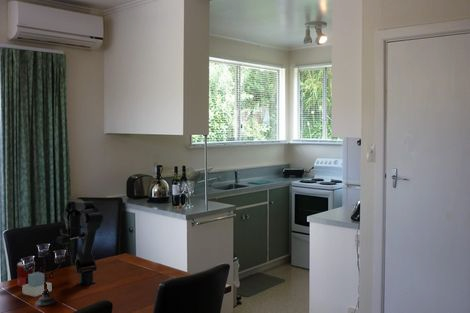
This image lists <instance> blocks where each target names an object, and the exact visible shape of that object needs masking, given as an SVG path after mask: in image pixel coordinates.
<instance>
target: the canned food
mask: <svg viewBox="0 0 470 313" xmlns="http://www.w3.org/2000/svg"><path fill="white" fill-rule="evenodd" d="M22 262H23V261H19V262H18V263H17V264H16V268H17V269H16V270H17V286H18V287H19V288H22V286H23V285H26V284H28V274H32V273H35V272H36V271H35V270H36V266H35V264H36V262H35V261H34V267H33V269H31V270H30V271H25V270H24V269H23V264H22Z"/></svg>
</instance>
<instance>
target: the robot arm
mask: <svg viewBox="0 0 470 313" xmlns="http://www.w3.org/2000/svg"><path fill="white" fill-rule="evenodd" d="M89 210H91V211H92V212H89V213H86V211H89ZM81 211H82V212H81ZM62 217H63V219H64V220H65V221H67V222H68V223H69V225H67V228H65V227H62V228H60V229H59V235H60V236H57V238H56V243H58V244H60V245H61V246H62V247H63V248H64V251H65V250H66V251H65V254H66V256H67V257H69V256H70V252H71V243H70V241H73V240H78V239H80V240H81V242H82V243H81V246H82V247H81V250H79V251H77V253H76V257H75V258H76V259H75V262H74V265H75V266H74V267H75V271H76V272H75V273H76V274H79V281H78V282H77V285H80V286H82V287H86V286H90V285H93V284H96V281H95V280H94V272H96V271H97V268H98V267H97V264H96V261H95V257H94V255H93V248H94V244H95V238H96V233H97V230H98V229H99V228H101V227H102V224H103V221H104V215H103V213H102V210H101V209H100V208H99V207H98V206H96V205H95V202H94V201H92V200H91V201H84V200H83V199H82V198H81V199H79V198H78V199H68V200H67V202H66V204H65V206H64V213H63V215H62ZM82 221H83V224H84V226H83V225H82ZM83 227H85V231H82V228H83Z"/></svg>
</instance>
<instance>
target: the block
mask: <svg viewBox="0 0 470 313" xmlns="http://www.w3.org/2000/svg"><path fill="white" fill-rule="evenodd" d="M44 282H45V273H43V272H41V271H35V273H32V274H28V285H30V286H33V287H36V286H40V285H43V284H44Z"/></svg>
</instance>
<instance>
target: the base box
mask: <svg viewBox="0 0 470 313" xmlns="http://www.w3.org/2000/svg"><path fill="white" fill-rule="evenodd" d="M45 282H46V284H47V289H48V291H49V292H48V293H50V292H52V291H53V290H52V289H53V288H52V287H53V285H52V283H51V282H48V281H45ZM21 290H22V294H24V295H26V296H27V295H28V296H31V297H39V296H41V295H43V294H42V293H43V291H44V284H43V285H40V286H36V287H33V286H30V285H28V284H26V285H23V286H22V287H21Z"/></svg>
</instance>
